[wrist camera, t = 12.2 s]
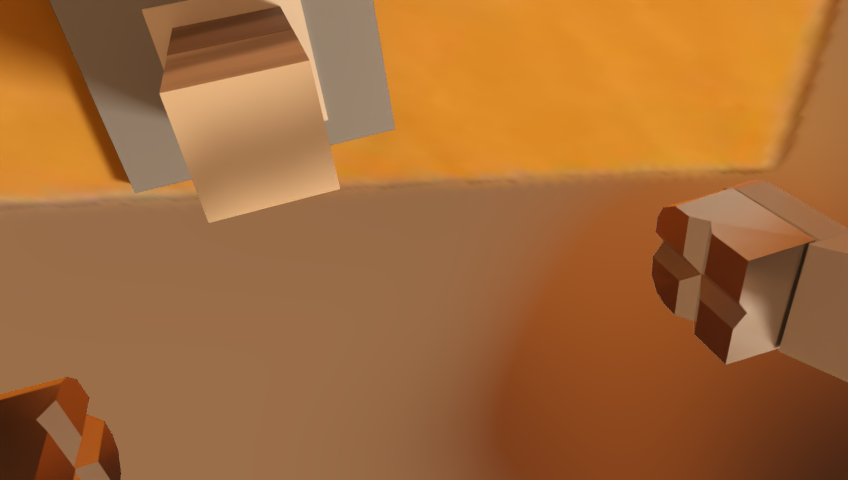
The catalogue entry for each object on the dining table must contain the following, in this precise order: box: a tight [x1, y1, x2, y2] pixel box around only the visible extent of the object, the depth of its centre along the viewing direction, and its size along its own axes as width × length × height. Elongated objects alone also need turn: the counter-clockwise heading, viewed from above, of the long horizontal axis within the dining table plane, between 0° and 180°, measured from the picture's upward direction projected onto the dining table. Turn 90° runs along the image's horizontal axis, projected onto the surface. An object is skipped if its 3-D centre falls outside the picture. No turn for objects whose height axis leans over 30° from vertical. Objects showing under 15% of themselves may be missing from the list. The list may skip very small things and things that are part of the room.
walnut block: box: [167, 6, 292, 55], centre depth 28 cm, size 5×5×5 cm
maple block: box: [159, 29, 340, 223], centre depth 24 cm, size 5×5×5 cm
